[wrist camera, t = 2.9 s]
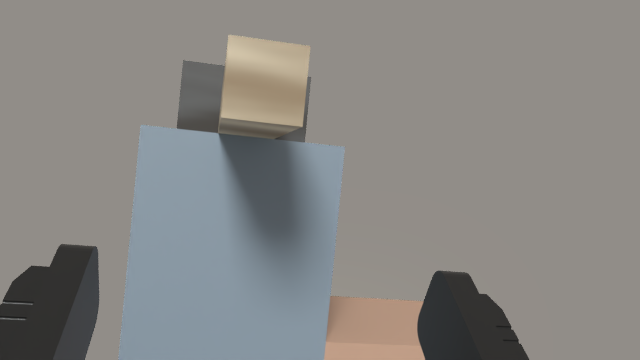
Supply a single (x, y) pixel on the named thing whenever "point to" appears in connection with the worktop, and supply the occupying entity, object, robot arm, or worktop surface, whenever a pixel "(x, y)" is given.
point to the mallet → (249, 91)
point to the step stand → (246, 256)
